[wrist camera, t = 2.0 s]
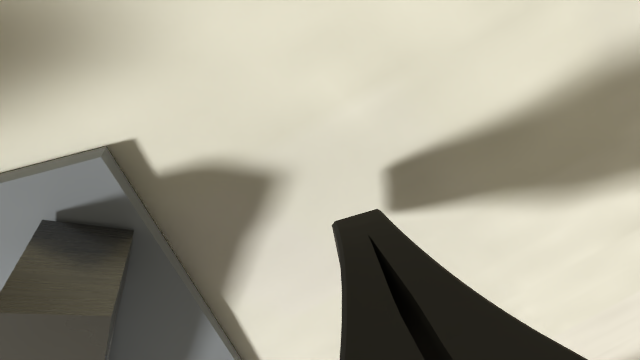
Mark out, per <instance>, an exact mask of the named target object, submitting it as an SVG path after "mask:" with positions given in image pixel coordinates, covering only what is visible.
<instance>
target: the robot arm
mask: <svg viewBox="0 0 640 360" xmlns="http://www.w3.org/2000/svg"><path fill="white" fill-rule="evenodd" d="M332 228H333V233H334V238H335V242H336V247H337V252H338V257H339V262H340V267H341V281H342V331H341V349H340V360H587V359H586V358H584V357H582V356H580V355H579V354H577V353H575V352H573V351H571V350H570V349H568V348H566V347H564V346H562V345H561V344H559V343H557V342H555V341H553V340H552V339H550V338H548V337H546V336H545V335H543V334H541V333H539V332H537V331H536V330H534V329H532V328H531V327H529V326H527V325H526V324H524V323H523V322H521V321H519V320H518V319H516V318H515V317H513V316H511V315H510V314H508V313H507V312H505V311H504V310H502V309H500V308H499V307H497V306H496V305H494V304H493V303H491V302H490V301H488V300H487V299H485V298H484V297H483V296H481V295H480V294H478V293H477V292H475V291H474V290H473V289H471V288H470V287H468V286H467V285H466V284H464V283H463V282H462V281H460V280H459V279H458V278H456V277H455V276H454V275H452V274H451V273H450V272H449V271H447V270H446V269H445V268H443V267H442V266H441V265H440V264H438V263H437V262H436V261H435V260H434V259H432V258H431V257H430V256H429V255H428V254H426V253H425V252H424V251H423V250H422V249H420V248H419V247H418V246H417V245H416V244H415V243H414V242H412V241H411V240H410V239H409V238H408V237H407V236H406V235H405V234H404V233H403V232H402V231H400V230H399V229H398V228H397V227H396V226H395V225H394V224H393V223H392V222H391V221H390V220H389V219H388V218H387V217H386V216H385V215H384V214H383V213H382V212H381V211H380V210H378V209H375V210H372V211H369V212H365V213H362V214H358V215H355V216H351V217H348V218H345V219H341V220H338V221H335V222H334V223H333V225H332Z"/></svg>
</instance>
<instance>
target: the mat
mask: <svg viewBox="0 0 640 360" xmlns="http://www.w3.org/2000/svg"><path fill="white" fill-rule="evenodd" d="M42 220H50V221H59V222H68V223H76V224H85V225H94V226H102V227H111V228H120V229H129V230H134V234H133V240H132V246H131V252H130V257H129V263H128V269H127V275H126V281H125V285H124V289H123V293H122V297H121V301H120V305H119V309H118V313H117V317H116V321H115V325H114V331H113V337H112V343H111V350H110V356H109V360H241V358H240V357H239V355H238V353H237V352H236V350H235V349H234V347H233V346H232V344H231V342H230V341H229V339H228V338H227V336H226V334H225V333H224V331H223V330H222V328H221V327H220V325H219V323H218V322H217V320H216V319H215V317H214V316H213V314H212V312H211V311H210V309H209V308H208V306H207V305H206V303H205V301H204V300H203V298H202V297H201V295H200V293H199V292H198V290H197V289H196V287H195V286H194V284H193V282H192V281H191V279H190V278H189V276H188V275H187V273H186V271H185V270H184V268H183V267H182V265H181V264H180V262H179V260H178V259H177V257H176V256H175V254H174V252H173V251H172V249H171V248H170V246H169V245H168V243H167V241H166V240H165V238H164V237H163V235H162V234H161V232H160V230H159V229H158V227H157V226H156V224H155V223H154V221H153V219H152V218H151V216H150V215H149V213H148V211H147V210H146V208H145V207H144V205H143V204H142V202H141V200H140V199H139V197H138V196H137V194H136V193H135V191H134V189H133V188H132V186H131V185H130V183H129V182H128V180H127V178H126V177H125V175H124V174H123V172H122V170H121V169H120V167H119V166H118V164H117V163H116V161H115V159H114V158H113V156H112V155H111V153H110V152H109V150H108V148H107V147H106V146H105V147H101V148H98V149H94V150H90V151H86V152H82V153H78V154H74V155H71V156H67V157H63V158H59V159H55V160H51V161H47V162H43V163H40V164H36V165H32V166H28V167H24V168H20V169H16V170H13V171H9V172H5V173H1V174H0V292H1V290H2V288H3V287H4V285H5V283H6V281H7V280H8V278H9V276H10V274H11V273H12V271H13V269H14V268H15V266H16V264H17V262H18V261H19V259H20V257H21V255H22V254H23V252H24V250H25V249H26V247H27V245H28V243H29V242H30V240H31V238H32V236H33V235H34V233H35V231H36V230H37V228H38V226H39V224H40V223H41V221H42Z"/></svg>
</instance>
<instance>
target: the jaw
mask: <svg viewBox="0 0 640 360" xmlns="http://www.w3.org/2000/svg"><path fill="white" fill-rule="evenodd" d="M133 234H134V230H129V229H120V228H111V227H102V226H94V225H85V224H76V223H68V222H59V221H50V220H42V221H41V223H40V224H39V226H38V228H37V230H36V231H35V233H34V235H33V236H32V238H31V240H30V242H29V243H28V245H27V247H26V249H25V250H24V252H23V254H22V255H21V257H20V259H19V261H18V262H17V264H16V266H15V268H14V269H13V271H12V273H11V274H10V276H9V278H8V280H7V281H6V283H5V285H4V287H3V288H2V290H1V292H0V360H109V356H110V350H111V343H112V337H113V331H114V325H115V321H116V317H117V313H118V309H119V305H120V301H121V297H122V293H123V289H124V285H125V281H126V275H127V269H128V263H129V257H130V252H131V246H132V240H133Z"/></svg>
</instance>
